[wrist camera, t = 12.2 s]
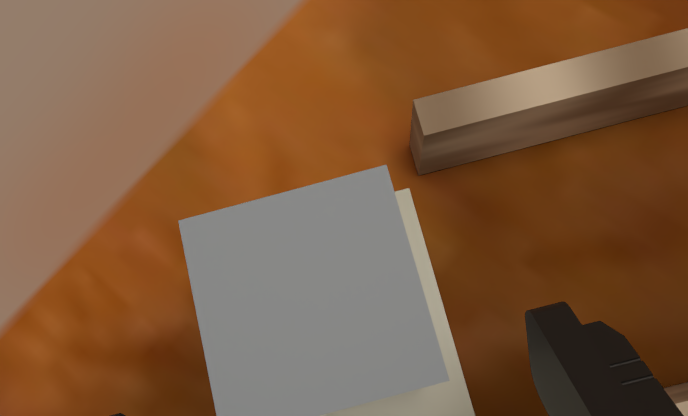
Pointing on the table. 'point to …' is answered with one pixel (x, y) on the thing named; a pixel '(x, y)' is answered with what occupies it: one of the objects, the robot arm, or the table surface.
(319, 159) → the table surface
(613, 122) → the tunnel rails
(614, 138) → the table surface
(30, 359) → the table surface
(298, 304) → the grey tall block
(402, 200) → the pad
